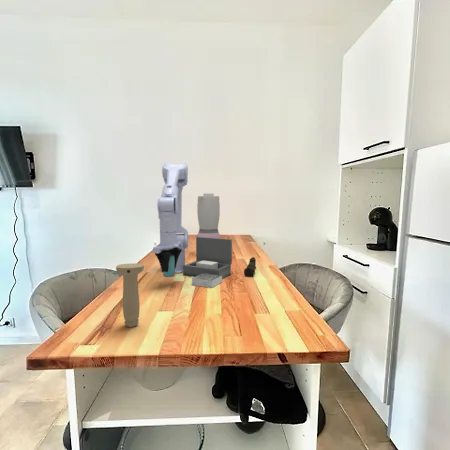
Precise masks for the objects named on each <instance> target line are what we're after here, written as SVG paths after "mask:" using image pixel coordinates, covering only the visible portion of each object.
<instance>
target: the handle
mask: <svg viewBox="0 0 450 450" xmlns="http://www.w3.org/2000/svg"><path fill="white" fill-rule="evenodd" d="M115 268H116V269H115V270H116V273H117V274H120V275H121V276H122V279H123V282H122V314H123V318H124V325H125V327H128V328H134V327H137V326H138V324H139V317H140V304H141V303H140V293H139V282H138V280H139V279H138V277H139V276H138V275H139V274H141V273H142V272H144V270H145V269H144V268H145V265H144V264H143V263H136V262H135V263H122V264H120V263H119V264H117V265H116V266H115Z"/></svg>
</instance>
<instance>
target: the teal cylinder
mask: <svg viewBox="0 0 450 450" xmlns="http://www.w3.org/2000/svg"><path fill="white" fill-rule="evenodd" d="M175 274H176V273H175V259H174V255H171V256H170V259H169V268H168V272H162V276H163V277H164V278H173V277H175V276H176V275H175Z"/></svg>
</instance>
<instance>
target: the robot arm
mask: <svg viewBox="0 0 450 450" xmlns="http://www.w3.org/2000/svg"><path fill="white" fill-rule="evenodd" d="M188 170H189V169H188V165H187V163H164V164H162V169H161V173H162V178H163V181H164V183H165V184H164V185H163V187H162V191H161V196H160V198H157V212H158V219H159V244H158V245H156V246H153V247H152V253H153V254H154V255H155V256H156V258H157V261H158V262H159V265H160V266H159V267H160V268H161V269H159V270H160V271H161V272H162V273H163V272H168V268H169V259H170V256H171V255H174V259H175V274H180V273H183V265H186V249H188V247H189V232H188V229H187V228H185V226H183V225H182V216H183V215H182V211H183V210H182V204H183V203H182V202H183V200H182V199H183V198H182V197H183V196H182V195H183V194H182V193H183V188H184V187H185V186H187V184H188V182H189V181H188V176H189V175H188V174H189V171H188Z"/></svg>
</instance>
